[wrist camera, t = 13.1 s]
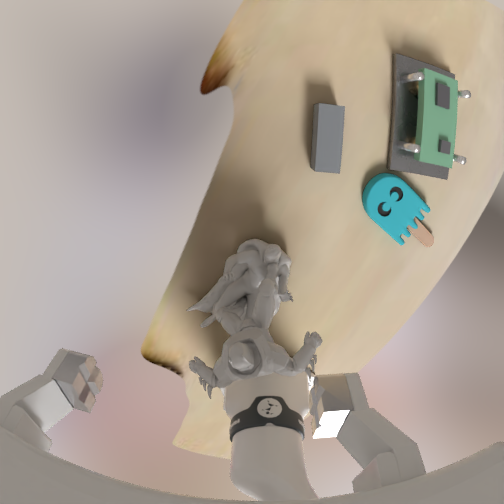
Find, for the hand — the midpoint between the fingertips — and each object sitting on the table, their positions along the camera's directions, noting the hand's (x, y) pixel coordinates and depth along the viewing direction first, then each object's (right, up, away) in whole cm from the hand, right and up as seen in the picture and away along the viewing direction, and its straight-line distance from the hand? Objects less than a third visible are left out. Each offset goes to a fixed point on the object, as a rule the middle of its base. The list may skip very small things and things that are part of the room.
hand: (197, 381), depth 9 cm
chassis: (+25, +23, +21) cm, 39 cm away
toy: (+23, +10, +27) cm, 37 cm away
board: (+25, +21, +18) cm, 37 cm away
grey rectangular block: (+11, +19, +23) cm, 31 cm away
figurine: (+1, 0, +32) cm, 32 cm away
